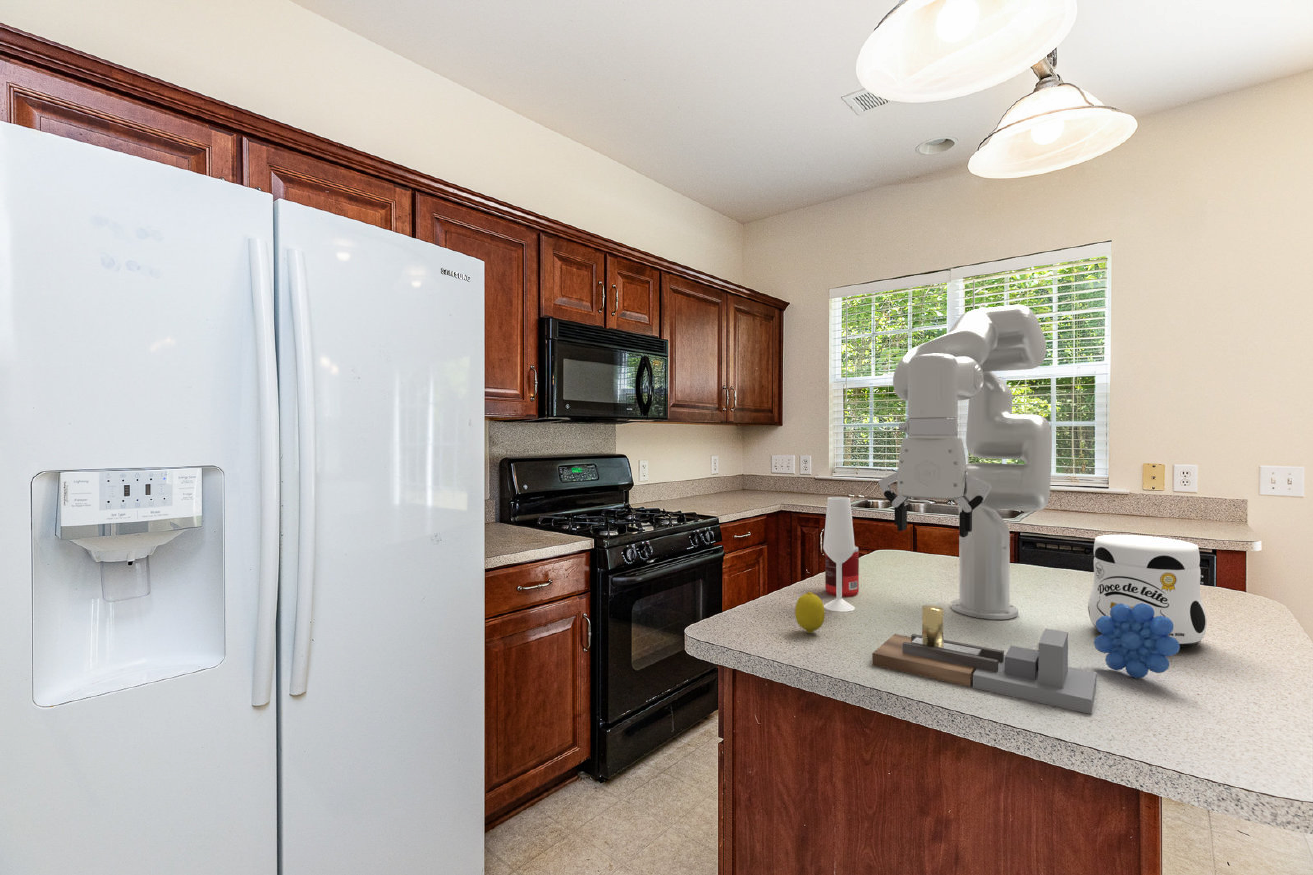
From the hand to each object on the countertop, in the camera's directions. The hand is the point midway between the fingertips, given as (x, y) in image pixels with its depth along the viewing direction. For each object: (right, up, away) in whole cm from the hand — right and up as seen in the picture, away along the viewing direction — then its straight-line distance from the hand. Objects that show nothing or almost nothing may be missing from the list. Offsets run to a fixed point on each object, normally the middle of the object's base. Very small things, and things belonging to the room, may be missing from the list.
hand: (932, 533), depth 104 cm
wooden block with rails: (+1, -22, 0) cm, 22 cm away
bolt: (+2, -20, -1) cm, 20 cm away
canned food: (-1, -22, +46) cm, 51 cm away
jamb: (+12, -22, -8) cm, 26 cm away
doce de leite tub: (+45, -22, +13) cm, 52 cm away
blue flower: (+30, -22, -5) cm, 38 cm away
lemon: (-16, -22, +17) cm, 32 cm away
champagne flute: (-6, -22, +34) cm, 41 cm away
